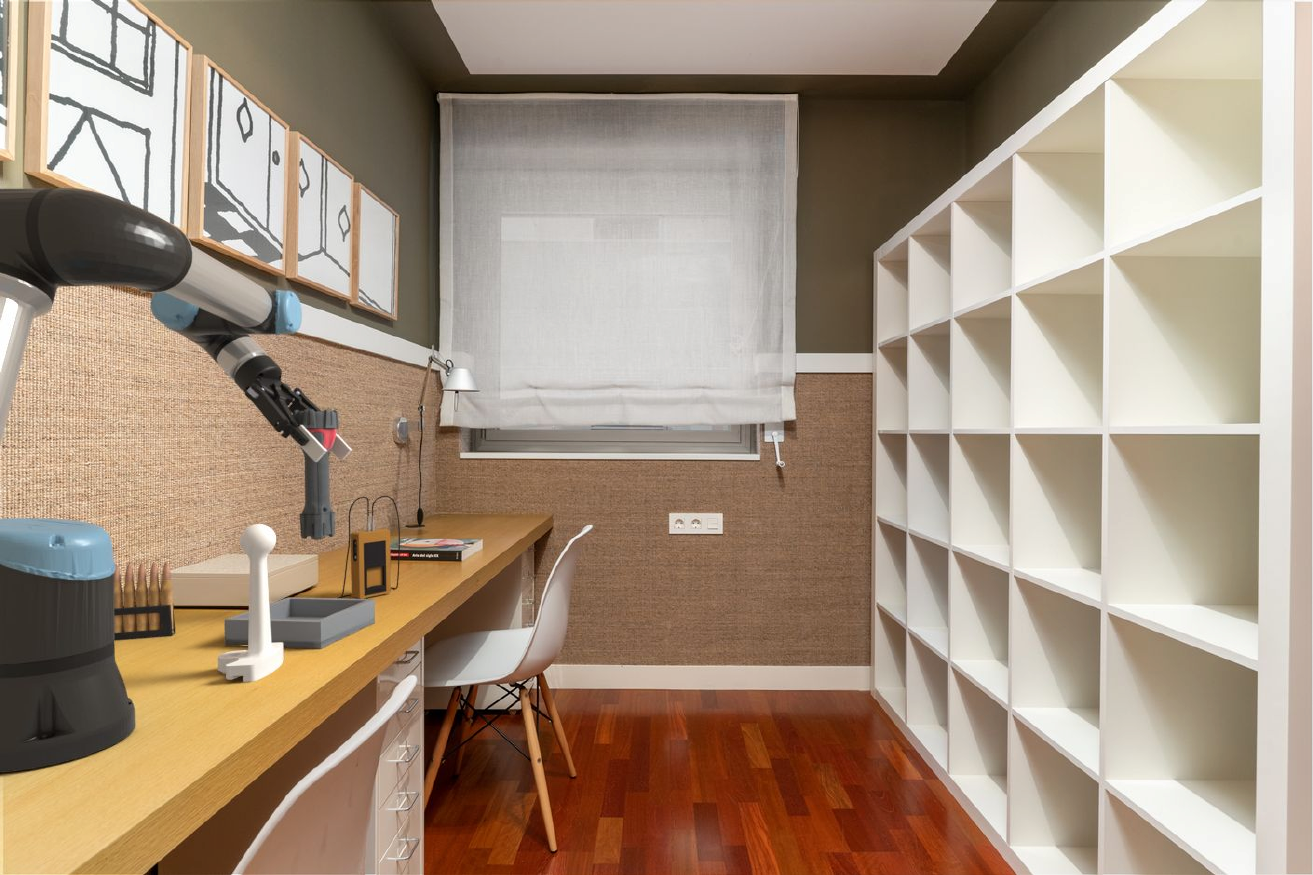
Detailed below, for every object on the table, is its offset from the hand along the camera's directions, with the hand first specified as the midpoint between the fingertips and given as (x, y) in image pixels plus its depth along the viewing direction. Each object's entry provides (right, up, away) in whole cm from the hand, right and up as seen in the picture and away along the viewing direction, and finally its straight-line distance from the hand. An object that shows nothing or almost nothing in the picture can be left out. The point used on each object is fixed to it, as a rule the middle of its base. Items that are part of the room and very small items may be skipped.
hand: (334, 455), depth 141 cm
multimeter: (-2, -29, +17) cm, 33 cm away
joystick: (+2, -29, -33) cm, 44 cm away
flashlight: (-3, -15, 0) cm, 15 cm away
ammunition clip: (-26, -29, -15) cm, 42 cm away
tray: (+1, -29, -14) cm, 32 cm away
